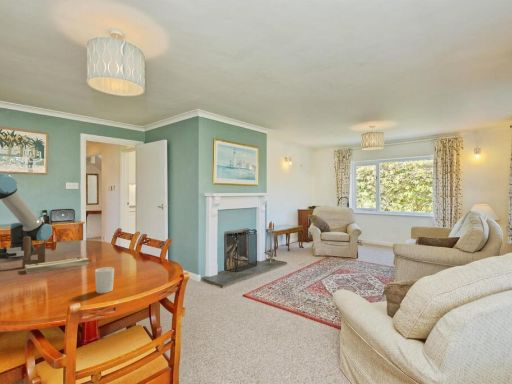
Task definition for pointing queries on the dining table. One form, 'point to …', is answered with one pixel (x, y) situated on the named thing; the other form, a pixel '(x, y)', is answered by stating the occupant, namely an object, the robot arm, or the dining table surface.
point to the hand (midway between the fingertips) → (22, 251)
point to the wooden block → (27, 252)
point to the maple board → (56, 265)
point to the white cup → (104, 279)
